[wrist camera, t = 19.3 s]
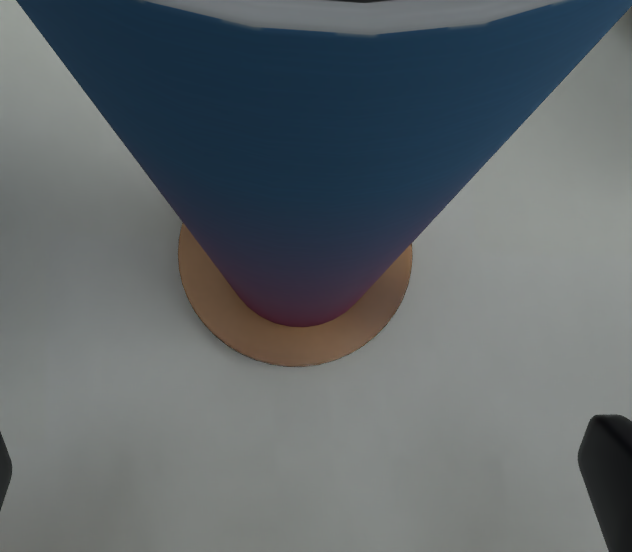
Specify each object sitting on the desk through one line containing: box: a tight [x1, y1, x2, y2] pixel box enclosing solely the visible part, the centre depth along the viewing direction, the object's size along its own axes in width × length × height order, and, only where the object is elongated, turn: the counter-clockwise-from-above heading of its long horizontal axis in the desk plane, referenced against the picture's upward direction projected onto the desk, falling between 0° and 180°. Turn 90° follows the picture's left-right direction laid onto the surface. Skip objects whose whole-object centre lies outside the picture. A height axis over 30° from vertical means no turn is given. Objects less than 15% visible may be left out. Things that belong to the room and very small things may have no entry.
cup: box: [16, 0, 632, 327], centre depth 11 cm, size 7×7×15 cm
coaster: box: [178, 223, 412, 367], centre depth 19 cm, size 8×8×1 cm
